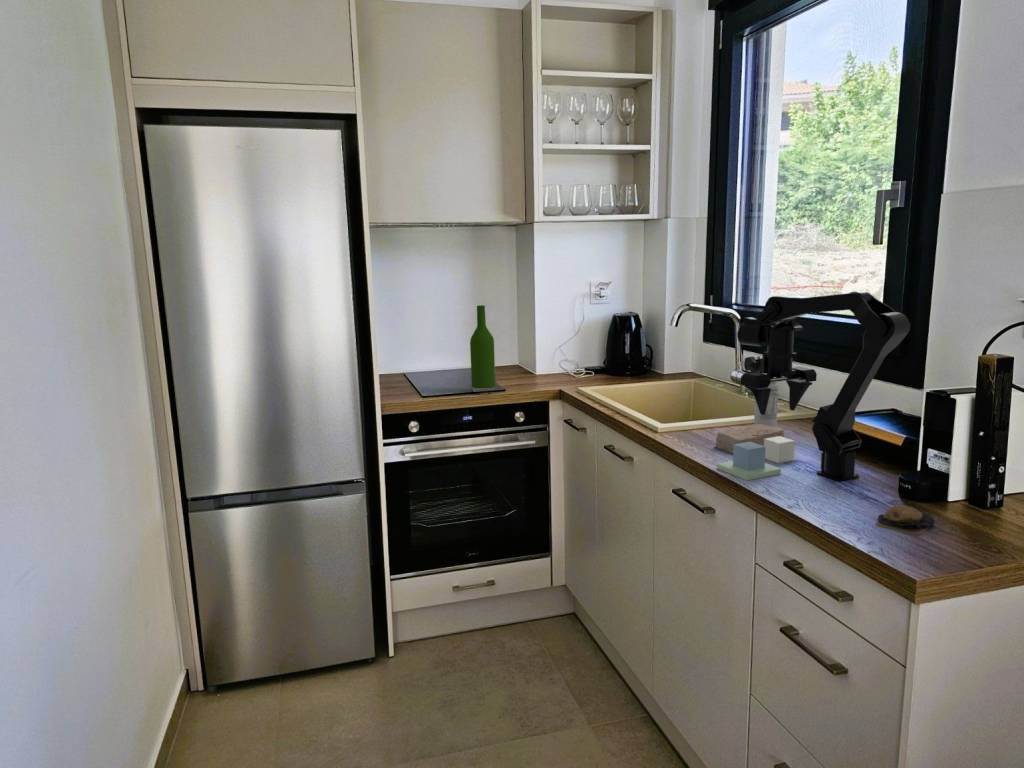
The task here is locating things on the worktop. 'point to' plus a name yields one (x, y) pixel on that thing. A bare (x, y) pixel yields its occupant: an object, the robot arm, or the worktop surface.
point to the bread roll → (905, 520)
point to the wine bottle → (482, 354)
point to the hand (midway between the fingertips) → (777, 412)
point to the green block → (750, 474)
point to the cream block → (779, 449)
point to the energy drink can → (768, 408)
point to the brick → (746, 436)
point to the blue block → (749, 456)
